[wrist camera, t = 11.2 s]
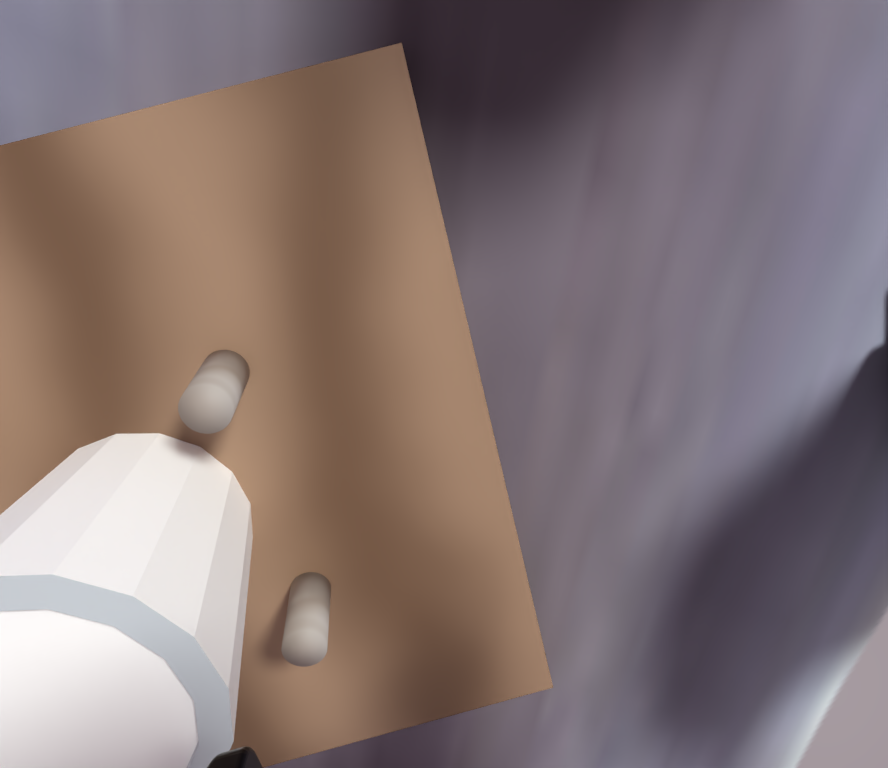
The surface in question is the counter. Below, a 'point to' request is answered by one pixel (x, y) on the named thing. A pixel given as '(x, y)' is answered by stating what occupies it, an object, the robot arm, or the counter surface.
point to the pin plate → (282, 382)
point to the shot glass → (123, 609)
